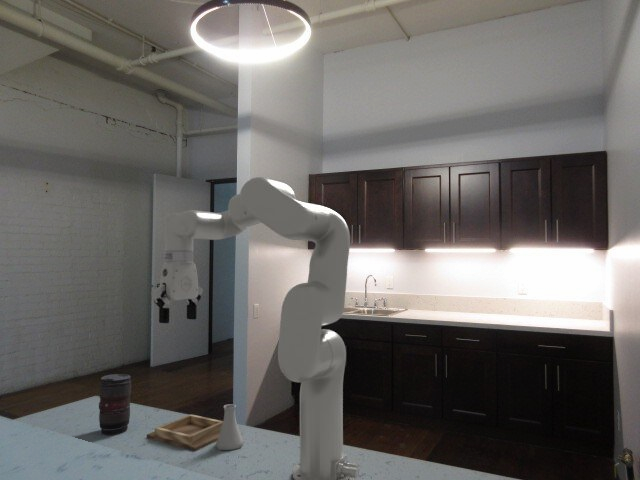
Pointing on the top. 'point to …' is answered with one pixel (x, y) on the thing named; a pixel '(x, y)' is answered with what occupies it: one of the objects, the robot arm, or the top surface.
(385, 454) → the top surface
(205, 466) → the top surface
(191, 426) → the shaker holder
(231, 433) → the flask
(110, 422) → the camera lens
